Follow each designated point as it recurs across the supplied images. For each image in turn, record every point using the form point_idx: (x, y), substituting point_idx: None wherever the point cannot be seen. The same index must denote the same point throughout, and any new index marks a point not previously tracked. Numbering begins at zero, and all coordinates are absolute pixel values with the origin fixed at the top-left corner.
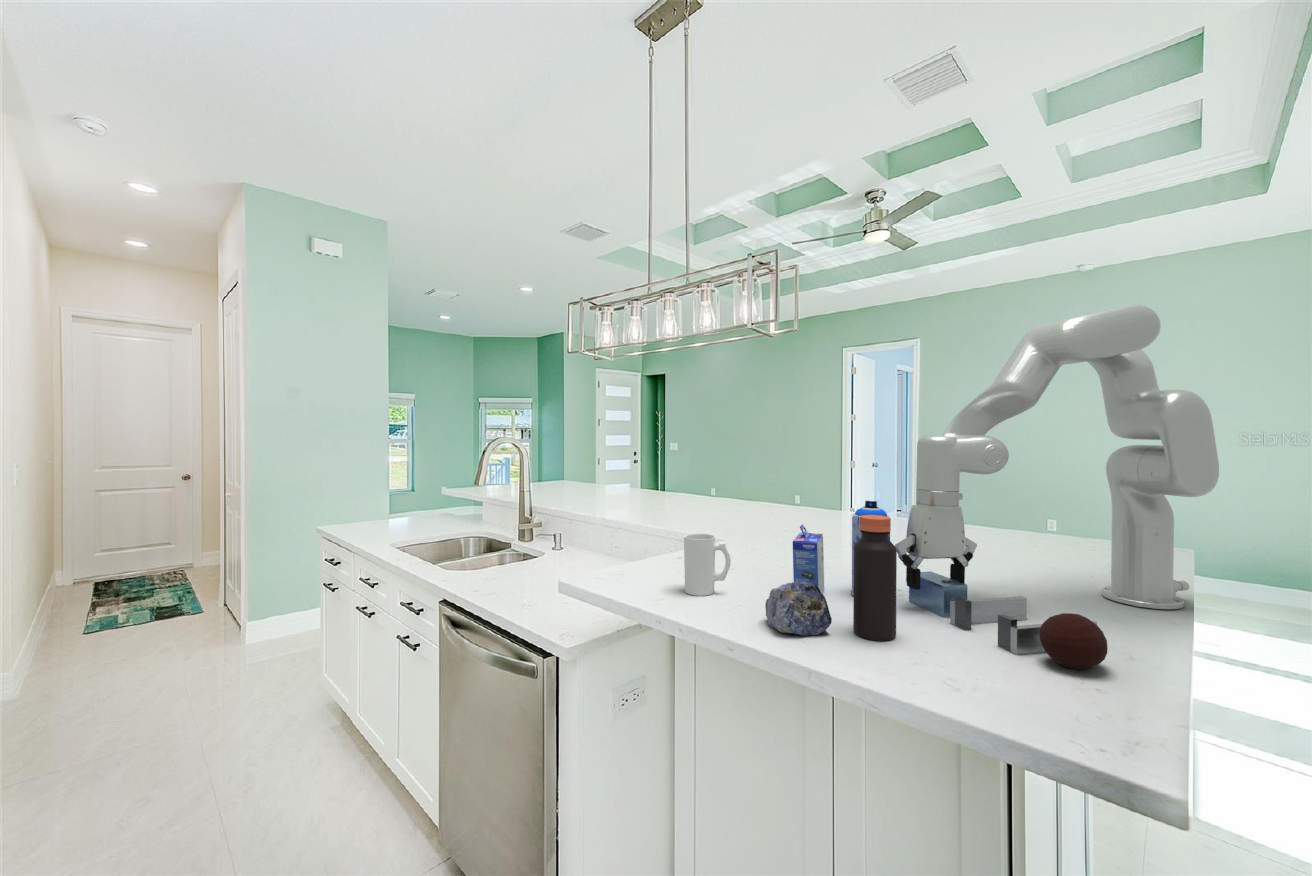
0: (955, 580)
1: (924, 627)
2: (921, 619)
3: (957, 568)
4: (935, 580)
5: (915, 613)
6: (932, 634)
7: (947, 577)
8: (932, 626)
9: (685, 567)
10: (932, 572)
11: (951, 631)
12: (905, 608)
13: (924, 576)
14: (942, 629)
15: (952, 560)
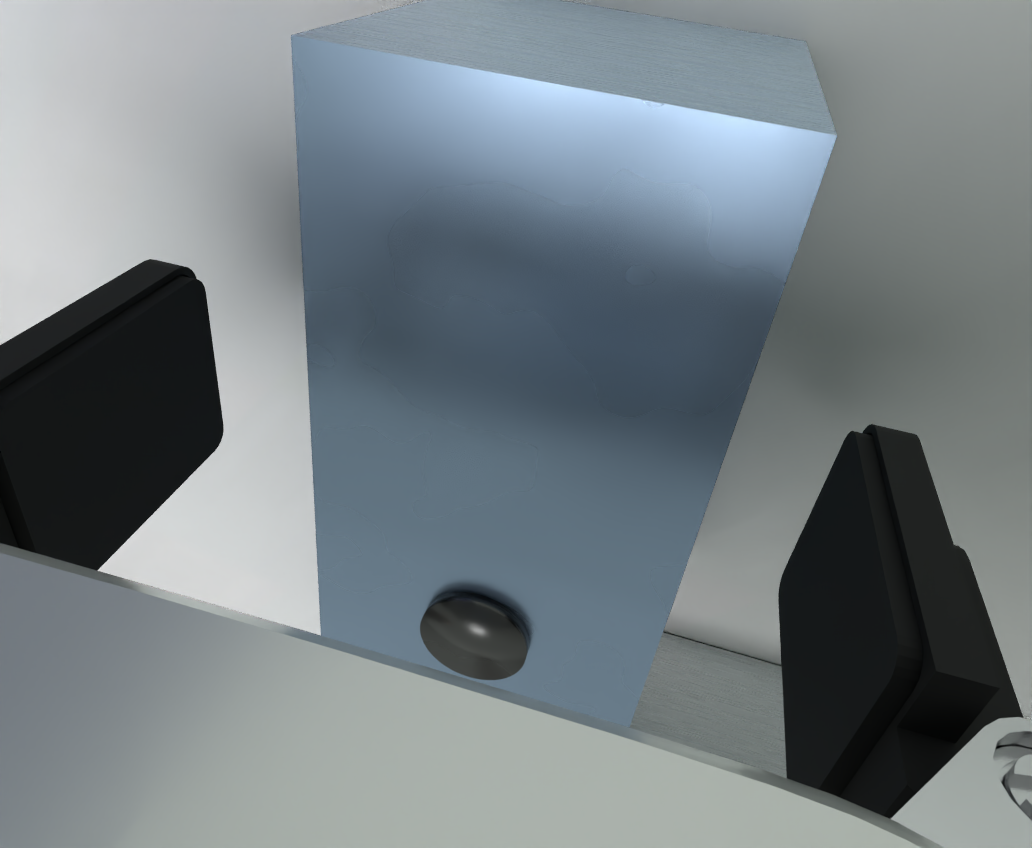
0: (647, 659)
1: (194, 519)
2: (257, 429)
3: (820, 756)
4: (391, 547)
5: (292, 322)
6: (180, 591)
7: (692, 544)
8: (251, 532)
9: None
10: (770, 226)
11: (308, 617)
12: (285, 183)
13: (392, 355)
14: (278, 581)
15: (927, 786)
